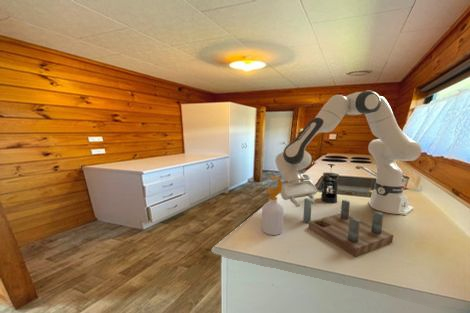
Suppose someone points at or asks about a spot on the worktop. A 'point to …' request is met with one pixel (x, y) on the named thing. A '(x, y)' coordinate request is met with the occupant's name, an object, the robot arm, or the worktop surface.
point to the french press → (329, 194)
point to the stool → (352, 231)
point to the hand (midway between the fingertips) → (305, 204)
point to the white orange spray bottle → (273, 212)
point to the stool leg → (307, 210)
